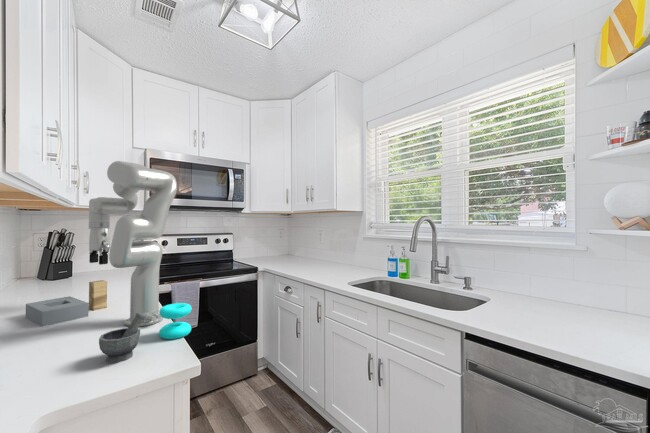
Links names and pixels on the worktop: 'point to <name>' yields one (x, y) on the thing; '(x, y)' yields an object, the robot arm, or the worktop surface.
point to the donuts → (175, 328)
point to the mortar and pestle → (121, 341)
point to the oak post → (97, 295)
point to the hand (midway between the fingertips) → (98, 263)
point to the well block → (56, 310)
